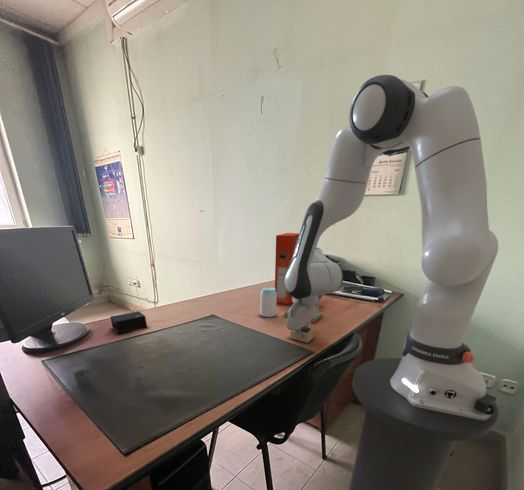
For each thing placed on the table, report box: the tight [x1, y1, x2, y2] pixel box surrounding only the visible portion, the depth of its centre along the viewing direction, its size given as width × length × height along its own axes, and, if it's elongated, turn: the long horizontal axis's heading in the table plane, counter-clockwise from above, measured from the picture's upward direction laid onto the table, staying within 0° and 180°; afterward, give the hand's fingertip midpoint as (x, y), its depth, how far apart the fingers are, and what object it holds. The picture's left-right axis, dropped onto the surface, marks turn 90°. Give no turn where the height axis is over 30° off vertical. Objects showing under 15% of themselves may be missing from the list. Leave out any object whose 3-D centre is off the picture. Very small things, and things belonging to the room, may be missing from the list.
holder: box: [284, 310, 323, 324], centre depth 125 cm, size 14×10×2 cm
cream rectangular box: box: [289, 326, 315, 343], centre depth 103 cm, size 7×5×4 cm
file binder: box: [274, 232, 300, 306], centre depth 141 cm, size 8×17×32 cm, turn 161°
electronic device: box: [110, 310, 148, 335], centre depth 109 cm, size 7×11×5 cm
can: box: [259, 286, 277, 318], centre depth 124 cm, size 7×7×12 cm
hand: (302, 333), depth 104 cm, fingers closed on cream rectangular box, 5 cm apart
